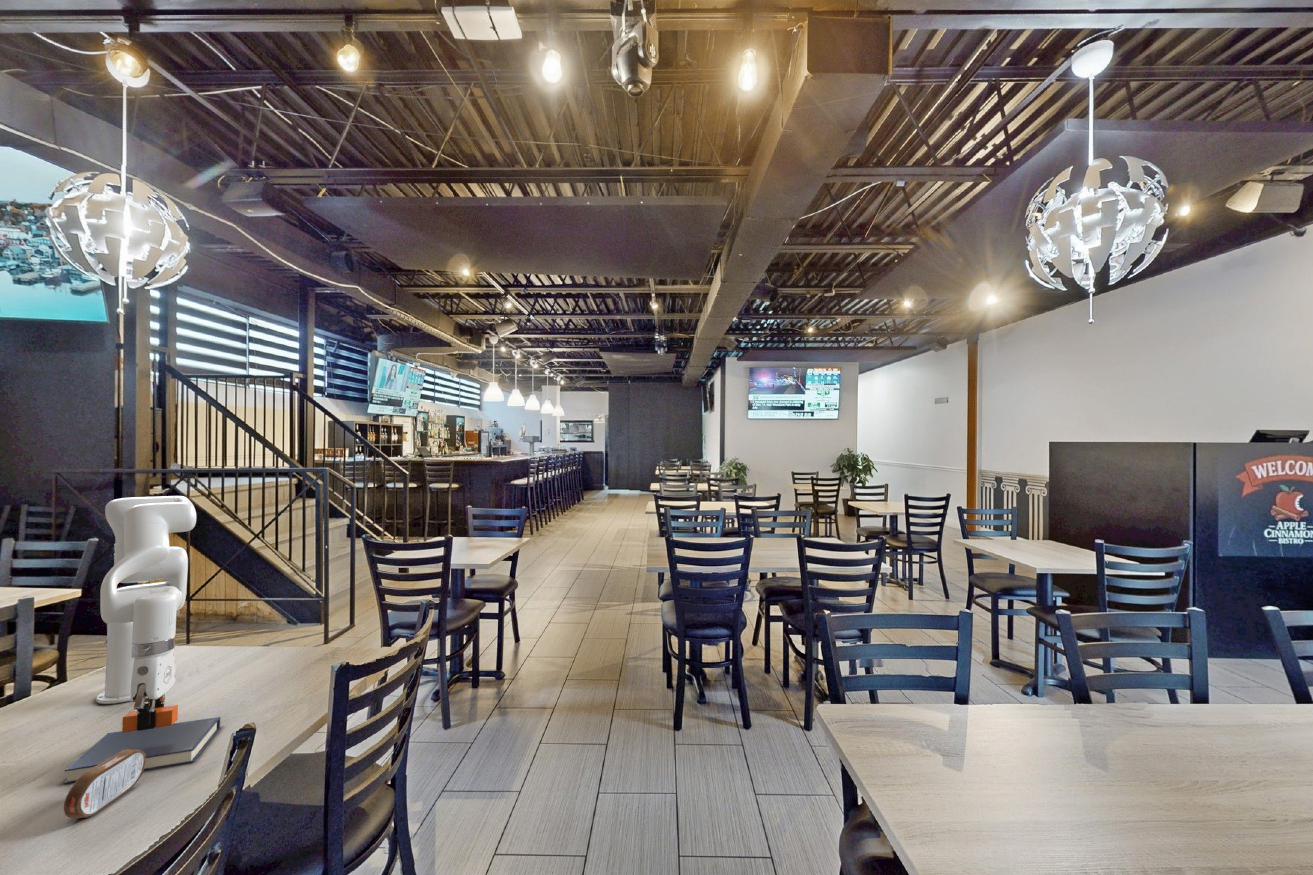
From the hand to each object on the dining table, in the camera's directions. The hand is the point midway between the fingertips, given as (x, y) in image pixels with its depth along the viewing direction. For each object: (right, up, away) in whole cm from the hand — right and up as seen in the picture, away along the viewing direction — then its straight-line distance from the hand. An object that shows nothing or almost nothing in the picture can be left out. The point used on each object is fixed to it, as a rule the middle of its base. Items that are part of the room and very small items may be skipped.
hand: (150, 724), depth 124 cm
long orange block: (0, 0, 0) cm, 0 cm away
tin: (+8, -7, -17) cm, 20 cm away
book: (0, -7, 0) cm, 7 cm away
